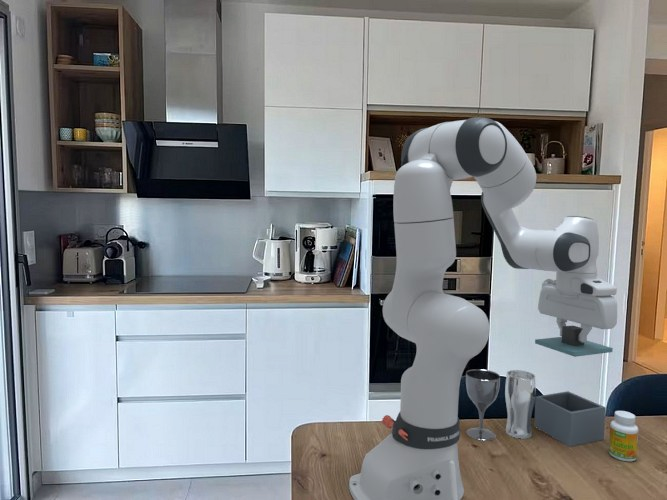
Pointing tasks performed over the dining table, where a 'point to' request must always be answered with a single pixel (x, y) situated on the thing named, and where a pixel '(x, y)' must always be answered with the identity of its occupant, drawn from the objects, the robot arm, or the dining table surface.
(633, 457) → the supplement bottle
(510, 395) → the beer glass
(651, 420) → the dining table surface
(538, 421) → the storage box
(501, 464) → the dining table surface
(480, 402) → the wine glass
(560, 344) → the lid
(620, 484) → the dining table surface
